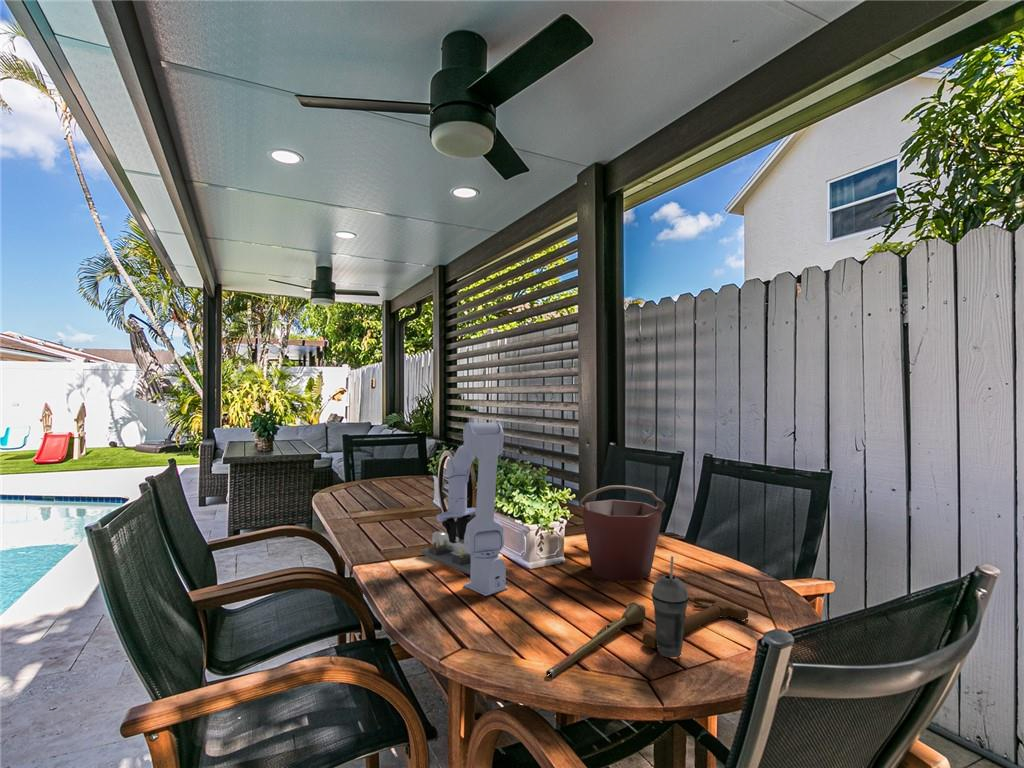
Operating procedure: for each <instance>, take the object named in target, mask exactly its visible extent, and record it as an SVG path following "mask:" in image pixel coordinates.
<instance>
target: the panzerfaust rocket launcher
mask: <svg viewBox="0 0 1024 768" xmlns="http://www.w3.org/2000/svg"><path fill="white" fill-rule="evenodd" d="M646 616H647V614H646V607H645V606H644V605H643V604H641V603H638V602H636V601H633V602H630V603H628V604H627V605H626V607H625V610H624V612H623V614H622V615H621V618H620V619H618V620H615V621H612V622H610V623H607V624H605V625H604V626H603V627H602V628H601V629H599V630H598V632H596V634H595V635H594V636H592V637H591V639H590V640H589V641H588V642H586V643H584V644H583V645H582V646H580V647H579V648H577V649H576V650H574V651H573V652H572V653H570V654H569V655H568V656H567V657H565V658H563V659H561V660H560V661H559V662H558V663H556V664H554V665H553V666H552V667H551V668H549V669H547V670H546V671H545V675H548V674H550V673H551V674H552V675H551V678H552V677H554V676H555V675H556V676H558V675H559V674H560V673H562V672H563V671H565V670H566V669H567V668H569V667H570V666H571V665H572V664H574V663H576V661H578V660H579V659H581V658H582V657H584V656H585V655H586V654H588V653H589V652H590V651H592V650H593V649H595V648H596V647H597V646H599V645H600V644H601V643H603V642H605V640H607V639H609V638H610V637H611V636H613V635H614V634H615V633H617V632H618V631H619V630H620V629H622V628H623V627H624V626H629V625H636V624H638V625H639V624H642V623H643V622H644V621H645V619H646ZM561 671H562V672H561ZM558 673H559V674H558ZM556 676H555V677H556ZM555 677H554V678H555Z"/></svg>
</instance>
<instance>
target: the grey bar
mask: <svg viewBox="0 0 1024 768" xmlns="http://www.w3.org/2000/svg"><path fill="white" fill-rule="evenodd" d="M431 539H432V541H431V542H432V545H433V547H436V542H437V541H439V542H440V547H442V548H445V549H447V550H450V551H453V552H455V553H458V554H460V550H464V556H466V557H468V558H471V555H470V554H468V553H467V551H466V550H465V546H464V539H461V538H459V536H456V542H455V543H451V542H449V537H448V533H447V531H440V530H438V531H434V532H432V537H431Z"/></svg>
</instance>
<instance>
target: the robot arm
mask: <svg viewBox="0 0 1024 768" xmlns="http://www.w3.org/2000/svg"><path fill="white" fill-rule="evenodd" d="M504 432H505V431H504V429H503V426H502V424H501V423H500V422H499V421H494V422H466V423H465V425H464V426H463V431H462V438H463V444H462V445H460V446H459V447H458V448H457V449H456V451H455V453H454V455H453V456H452V457H451V458H447V459H446V463H445V473H446V475H447V478H448V487H447V488H448V491H447V492H448V493H447V494H448V495H447V496H448V497H447V498H448V500H447V501H448V502H447V504H448V507H447V511H444V512H442V513H439V514H436V522H439V523H442V524H443V526H444V528H445V530H446V534H448V537H449V542H451V543H455V542H456V537H457V530H458V538H461V539H464V546H465V550H466V551H467V553H468V554H470V555H471V574H469V575H470V578H469V579H470V581H469V582H466V583H464V584H463V587H465V588H467V589H469V590H471V591H474V592H476V593H478V594H479V595H483V596H485V597H486V596H490V595H493V594H495V593H499V592H502V591H505V590H507V589H508V588H509V587H508V585H506V583H507V582H506V581H507V579H506V578H507V577H506V576H507V567H506V566H507V565H506V563H505V561H504V560H503V559H502V558H501V557H500V556H499V555H500V553H501V551H502V550H503V548H504V547H505V535H504V526H503V524H502V522H501V521H500V520H499V519H497V518H495V505H496V504H495V503H496V488H497V487H496V486H497V470H498V468H497V467H498V457H499V456H500V455H502V454H503V452H504V451H503V449H504V435H505V434H504ZM475 458H477V459H478V466H477V467H478V468H477V483H476V484H477V486H476V490H477V491H476V502H475V503H476V505H475V507H468V482H469V479H470V477H469V476H470V473H471V465H472V463H473V462H474V460H475ZM472 516H474V517H472ZM456 519H457V521H456Z"/></svg>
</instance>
